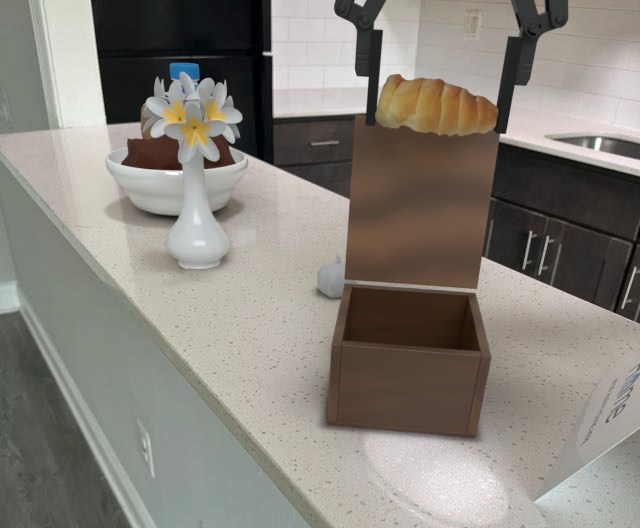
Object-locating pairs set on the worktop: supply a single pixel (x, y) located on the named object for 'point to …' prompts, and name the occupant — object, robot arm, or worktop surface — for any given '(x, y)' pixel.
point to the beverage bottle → (188, 68)
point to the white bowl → (172, 173)
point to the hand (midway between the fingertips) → (434, 127)
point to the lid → (418, 205)
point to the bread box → (408, 361)
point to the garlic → (332, 278)
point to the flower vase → (194, 162)
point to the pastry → (434, 107)
